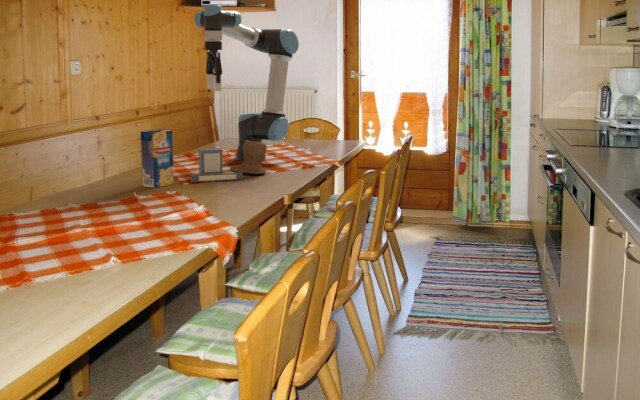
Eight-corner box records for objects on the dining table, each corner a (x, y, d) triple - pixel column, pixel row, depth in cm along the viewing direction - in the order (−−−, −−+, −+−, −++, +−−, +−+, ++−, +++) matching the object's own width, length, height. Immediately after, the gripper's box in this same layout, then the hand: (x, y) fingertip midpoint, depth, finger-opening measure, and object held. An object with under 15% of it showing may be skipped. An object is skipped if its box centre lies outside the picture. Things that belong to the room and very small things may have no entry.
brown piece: (271, 173, 348) (271, 139, 345) (258, 176, 338) (258, 142, 335) (242, 170, 355) (242, 137, 352) (228, 174, 344) (228, 140, 341)
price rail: (191, 182, 323) (190, 174, 323) (242, 179, 331) (241, 172, 331) (191, 182, 322) (191, 175, 321) (243, 179, 330) (243, 172, 329)
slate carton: (219, 175, 341) (219, 148, 339) (222, 177, 337) (222, 149, 334) (199, 176, 338) (198, 148, 336) (202, 178, 333) (201, 150, 331)
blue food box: (173, 183, 319) (172, 130, 315) (154, 187, 310) (152, 132, 306) (161, 182, 323) (159, 129, 318) (142, 185, 314) (140, 131, 309)
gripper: (198, 40, 349) (199, 88, 353) (211, 40, 326) (212, 91, 330) (214, 41, 351) (215, 88, 355) (228, 40, 329) (229, 91, 333)
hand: (214, 90), depth 343 cm, fingers open, 13 cm apart
